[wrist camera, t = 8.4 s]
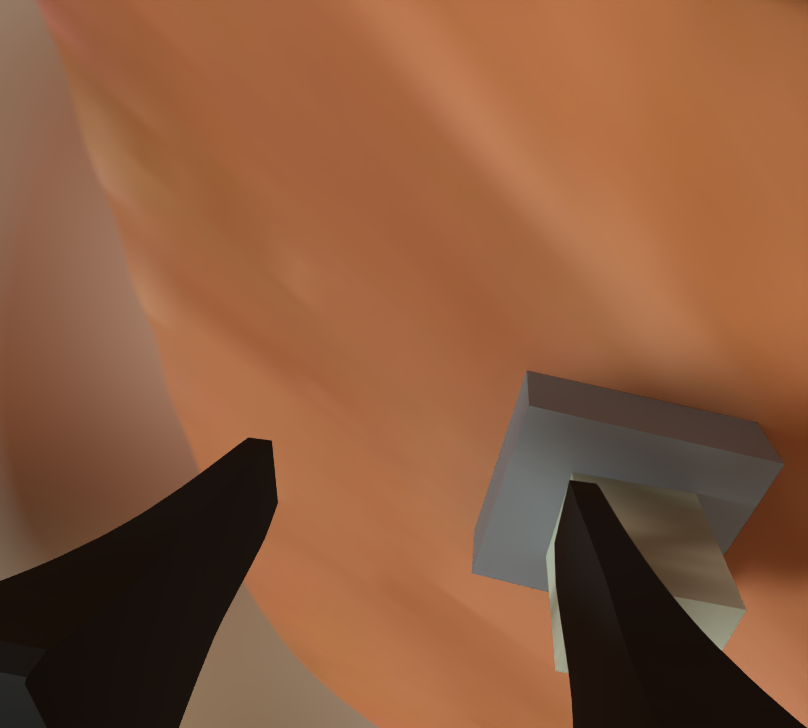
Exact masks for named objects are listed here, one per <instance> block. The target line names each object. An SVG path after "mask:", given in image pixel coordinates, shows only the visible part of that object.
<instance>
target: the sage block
mask: <svg viewBox="0 0 808 728" xmlns="http://www.w3.org/2000/svg"><path fill="white" fill-rule="evenodd" d="M570 480H574V481H582V482H590V483H597V485H598V486H599V487H600V489H601V490H602V492H603V494H604V496H605V497H606V499H607V501H608V502H609V504H610V506H611V507H612V509H613V511H614V512H615V514H616V516H617V517H618V519H619V521H620V522H621V524H622V525H623V527H624V529H625V530H626V532H627V533H628V535H629V536H630V538H631V539H632V541H633V542H634V544H635V545H636V547H637V548H638V550H639V551H640V552H641V554H642V555H643V557H644V558H645V560H646V561H647V563H648V564H649V565H650V567H651V568H652V570H653V571H654V572H655V574H656V575H657V576H658V578H659V579H660V580H661V582H662V583H663V584H664V585H665V587H666V588H667V589H668V591H669V592H670V593H671V594H672V596H673V597H674V598H675V599H676V601H677V602H678V603H679V604H680V606H681V607H682V608H683V609H684V610H685V612H686V613H687V614H688V615H689V616H690V617H691V618H692V620H693V621H694V622H695V623H696V624H697V625H698V626H699V627H700V629H701V630H702V631H703V632H704V633H705V634H706V635H707V636H708V637H709V638H710V639H711V640H712V641H713V642H714V643H715V645H716V646H717V647H718V648H719V649H720V650H721V651H722V650H723V648H724V646H725V645H726V643H727V642H728V640H729V638H730V637H731V635H732V633H733V632H734V630H735V628H736V627H737V625H738V623H739V622H740V620H741V618H742V617H743V615H744V613H745V612H746V607H745V605H744V603H743V601H742V598H741V596H740V594H739V591H738V589H737V587H736V584H735V582H734V580H733V578H732V575H731V573H730V571H729V568H728V566H727V564H726V562H725V559H724V557H723V555H722V552H721V550H720V548H719V545H718V543H717V541H716V539H715V536H714V534H713V532H712V529H711V527H710V525H709V523H708V520H707V518H706V516H705V513H704V511H703V509H702V506H701V504H700V502H699V500H698V497H697V495H696V493H691V492H685V491H679V490H673V489H667V488H661V487H655V486H650V485H644V484H638V483H632V482H626V481H620V480H614V479H608V478H603V477H597V476H591V475H585V474H579V473H573V472H572V474H571V477H570ZM568 484H569V483H568ZM567 488H568V487H567ZM566 492H567V490H566ZM565 496H566V493H565ZM565 496H564V500H565ZM564 500H563V503H562V506H561V509H560V512H559V516H558V519H557V522H556V525H555V528H554V532H553V535H552V538H551V541H550V545H549V548H548V551H547V554H546V562H547V574H548V586H549V598H550V610H551V622H552V634H553V646H554V658H555V669H556V671H560V672H565V673H569V672H568V666H567V659H566V653H565V646H564V639H563V633H562V626H561V619H560V612H559V606H558V599H557V592H556V584H555V550H554V542H555V538H556V534H557V530H558V525H559V521H560V517H561V513H562V509H563V504H564Z"/></svg>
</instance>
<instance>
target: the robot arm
mask: <svg viewBox="0 0 808 728" xmlns="http://www.w3.org/2000/svg"><path fill="white" fill-rule="evenodd" d="M277 504H278V499H277V488H276V478H275V468H274V458H273V448H272V441H271V440H263V439H256V438H247V439H246V440H244V441H243V442H242V443H240V444H239V445H238V446H236V447H235V448H234V449H232V450H231V451H230V452H228V453H227V454H226V455H224V456H223V457H222V458H220V459H219V460H218V461H216V462H215V463H214V464H213V465H211V466H210V467H209V468H207V469H206V470H205V471H203V472H202V473H200V474H199V475H198V476H196V477H195V478H194V479H192V480H191V481H190V482H188V483H187V484H185V485H184V486H183V487H181V488H180V489H178V490H177V491H175V492H174V493H172V494H171V495H169V496H168V497H166V498H165V499H163V500H162V501H160V502H159V503H157V504H156V505H154V506H153V507H151V508H150V509H149V510H147V511H145V512H143V513H142V514H140V515H139V516H137V517H135V518H133V519H132V520H130V521H128V522H127V523H125V524H123V525H122V526H119V527H118V528H116V529H114V530H112V531H110V532H109V533H107V534H105V535H103V536H101V537H99V538H97V539H95V540H93V541H91V542H89V543H87V544H85V545H83V546H81V547H79V548H76V549H74V550H72V551H70V552H68V553H67V554H64V555H62V556H60V557H58V558H55V559H53V560H51V561H49V562H46V563H44V564H41V565H39V566H37V567H34V568H32V569H30V570H27V571H24V572H22V573H19V574H17V575H15V576H12V577H9V578H7V579H4V580H1V581H0V728H179V726H180V723H181V720H182V718H183V715H184V712H185V710H186V707H187V705H188V702H189V699H190V697H191V694H192V691H193V689H194V686H195V684H196V681H197V678H198V676H199V673H200V671H201V668H202V666H203V664H204V661H205V658H206V656H207V653H208V651H209V648H210V646H211V644H212V641H213V639H214V636H215V634H216V632H217V630H218V628H219V626H220V624H221V622H222V620H223V618H224V616H225V614H226V612H227V610H228V608H229V606H230V604H231V602H232V601H233V599H234V597H235V595H236V593H237V591H238V589H239V587H240V585H241V584H242V582H243V580H244V578H245V576H246V574H247V572H248V570H249V568H250V567H251V565H252V563H253V561H254V559H255V557H256V555H257V553H258V551H259V549H260V547H261V545H262V543H263V541H264V539H265V537H266V534H267V531H268V529H269V526H270V524H271V521H272V518H273V515H274V512H275V510H276V507H277ZM554 550H555V584H556V592H557V599H558V606H559V612H560V619H561V626H562V633H563V639H564V646H565V653H566V659H567V666H568V672H569V679H570V688H571V698H572V714H573V728H806V727H805V726H804V725H803V724H801V723H800V722H799V721H798V720H797V719H795V718H794V717H793V716H792V715H791V714H790V713H788V712H787V711H786V710H785V709H784V708H783V707H782V706H780V705H779V704H778V703H777V702H776V701H775V700H773V699H772V698H771V697H770V696H769V695H768V694H767V693H765V692H764V691H763V690H762V689H761V688H760V687H759V686H758V685H757V684H756V683H755V682H753V681H752V680H751V679H750V678H749V677H748V676H747V675H746V674H745V673H744V672H743V671H742V670H741V669H740V668H739V667H738V666H737V665H736V664H735V663H734V662H733V661H732V660H731V659H730V658H729V657H728V656H727V655H726V654H725V653H723V652H722V651H721V650H720V649H719V648H718V647H717V646H716V645H715V643H714V642H713V641H712V640H711V639H710V638H709V637H708V636H707V635H706V634H705V633H704V632H703V631H702V630H701V629H700V627H699V626H698V625H697V624H696V623H695V622H694V621H693V620H692V618H691V617H690V616H689V615H688V614H687V613H686V612H685V610H684V609H683V608H682V607H681V606H680V604H679V603H678V602H677V601H676V599H675V598H674V597H673V596H672V594H671V593H670V592H669V591H668V589H667V588H666V587H665V585H664V584H663V583H662V582H661V580H660V579H659V578H658V576H657V575H656V574H655V572H654V571H653V570H652V568H651V567H650V565H649V564H648V563H647V561H646V560H645V558H644V557H643V555H642V554H641V552H640V551H639V550H638V548H637V547H636V545H635V544H634V542H633V541H632V539H631V538H630V536H629V535H628V533H627V532H626V530H625V529H624V527H623V525H622V524H621V522H620V521H619V519H618V517H617V516H616V514H615V512H614V511H613V509H612V507H611V506H610V504H609V502H608V501H607V499H606V497H605V496H604V494H603V492H602V490H601V489H600V487H599V486H598V485H597V483H590V482H582V481H574V480H569V484H568V488H567V492H566V496H565V500H564V504H563V509H562V513H561V517H560V521H559V525H558V530H557V534H556V538H555V542H554Z"/></svg>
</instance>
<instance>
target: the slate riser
mask: <svg viewBox="0 0 808 728" xmlns="http://www.w3.org/2000/svg"><path fill="white" fill-rule="evenodd" d="M784 465H785V463H784V462H783V460H782V459H781V457H780V456H779V454H778V453H777V451H776V450H775V448H774V447H773V446H772V444H771V443H770V441H769V440H768V438H767V437H766V435H765V434H764V432H763V431H762V429H761V428H760V426H759V425H758V423H757V422H753V421H749V420H744V419H740V418H735V417H731V416H726V415H722V414H718V413H713V412H709V411H704V410H700V409H695V408H691V407H687V406H682V405H678V404H673V403H669V402H664V401H660V400H655V399H651V398H647V397H642V396H638V395H633V394H629V393H624V392H620V391H616V390H611V389H607V388H602V387H598V386H593V385H589V384H585V383H580V382H576V381H571V380H567V379H562V378H558V377H553V376H549V375H545V374H540V373H536V372H531V371H526V374H525V377H524V380H523V384H522V387H521V390H520V393H519V396H518V399H517V402H516V405H515V408H514V411H513V414H512V417H511V420H510V423H509V426H508V429H507V432H506V435H505V439H504V442H503V445H502V448H501V451H500V454H499V457H498V460H497V463H496V466H495V469H494V472H493V475H492V478H491V481H490V484H489V487H488V490H487V494H486V497H485V500H484V503H483V506H482V509H481V512H480V515H479V518H478V521H477V524H476V527H475V532H474V547H473V562H472V573H473V574H477V575H482V576H486V577H490V578H494V579H498V580H502V581H506V582H510V583H514V584H518V585H522V586H526V587H530V588H534V589H538V590H542V591H546V592H549V586H548V574H547V562H546V554H547V551H548V548H549V545H550V541H551V538H552V535H553V532H554V528H555V525H556V522H557V519H558V516H559V512H560V509H561V506H562V503H563V500H564V496H565V493H566V490H567V487H568V483H569V480H570V477H571V474H572V472H573V473H579V474H585V475H591V476H597V477H603V478H608V479H614V480H620V481H626V482H632V483H638V484H644V485H650V486H655V487H661V488H667V489H673V490H679V491H685V492H691V493H696V495H697V497H698V500H699V502H700V504H701V506H702V509H703V511H704V513H705V516H706V518H707V520H708V523H709V525H710V527H711V529H712V532H713V534H714V536H715V539H716V541H717V543H718V545H719V548H720V550H721V552H722V555H723V556H724V555H725V553H726V552H727V550H728V549H729V547H730V546H731V544H732V543H733V541H734V540H735V538H736V537H737V535H738V534H739V532H740V531H741V529H742V528H743V526H744V525H745V523H746V522H747V520H748V519H749V517H750V516H751V514H752V513H753V511H754V510H755V508H756V507H757V505H758V504H759V502H760V501H761V499H762V498H763V496H764V495H765V493H766V492H767V490H768V489H769V487H770V486H771V484H772V483H773V481H774V480H775V478H776V477H777V475H778V474H779V472H780V471H781V469H782V468H783V466H784Z"/></svg>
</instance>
